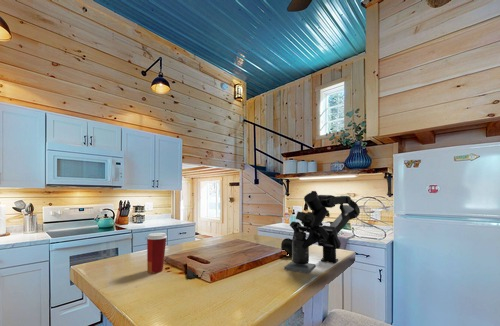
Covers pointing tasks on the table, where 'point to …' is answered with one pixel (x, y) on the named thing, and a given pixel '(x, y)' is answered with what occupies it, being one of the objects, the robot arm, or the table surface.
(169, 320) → the table surface
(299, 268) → the mat
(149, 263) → the paper cup
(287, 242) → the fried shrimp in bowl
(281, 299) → the table surface
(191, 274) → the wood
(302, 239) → the supplement bottle
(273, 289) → the table surface
